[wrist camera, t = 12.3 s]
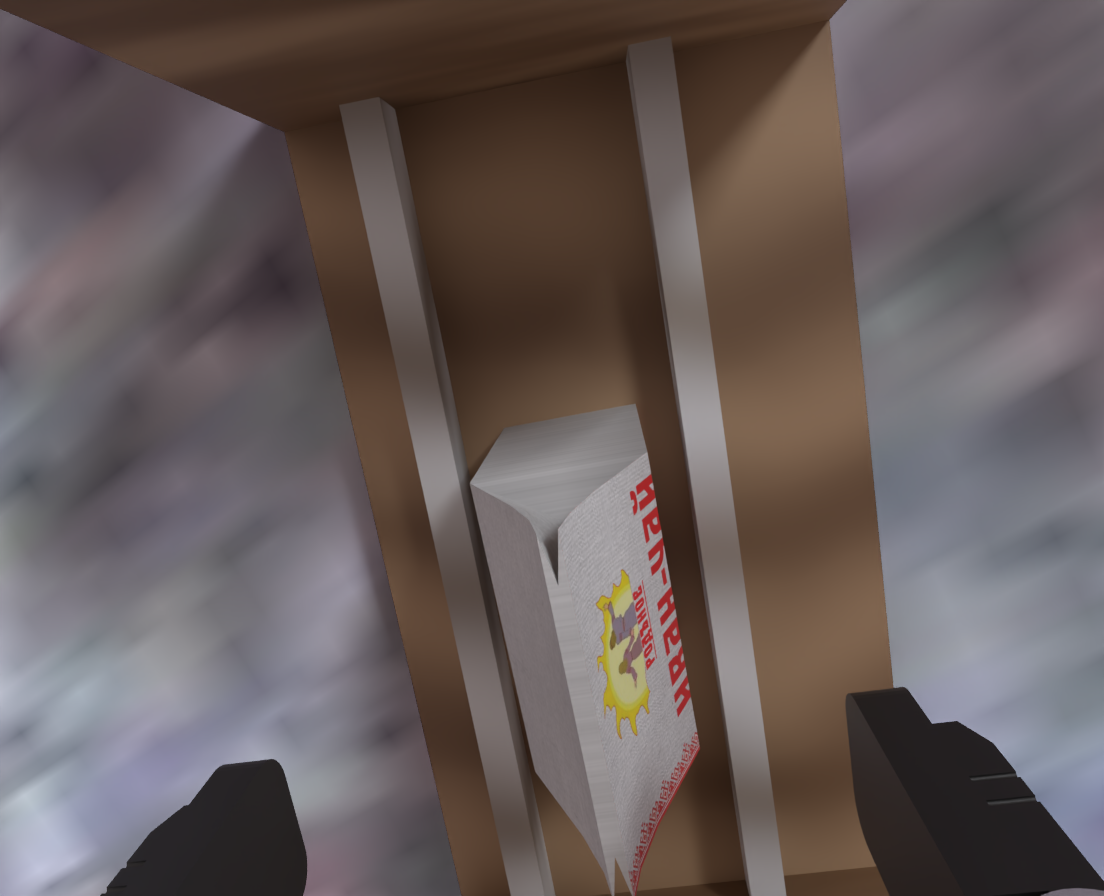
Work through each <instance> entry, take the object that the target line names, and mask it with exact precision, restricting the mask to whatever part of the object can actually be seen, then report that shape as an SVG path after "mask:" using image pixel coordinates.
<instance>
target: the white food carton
mask: <svg viewBox="0 0 1104 896" xmlns="http://www.w3.org/2000/svg"><path fill="white" fill-rule="evenodd" d="M470 487H471V491H472V496H473V500H474V504H475V509H476V513H477V518H478V522H479V526H480V531H481V535H482V540H483V544H484V548H485V553H486V557H487V562H488V566H489V570H490V575H491V579H492V584H493V588H494V593H495V597H496V601H497V606H498V610H499V615H500V619H501V623H502V628H503V632H504V637H505V641H506V645H507V650H508V654H509V659H510V663H511V667H512V672H513V676H514V681H515V685H516V690H517V694H518V698H519V703H520V707H521V712H522V716H523V720H524V725H525V729H526V734H527V738H528V742H529V747H530V751H531V756H532V760H533V765H534V769H535V772H536V773H537V775H538V776H539V777H540V779H541V780H542V782H543V783H544V784H545V786H546V787H547V788H548V790H549V791H550V792H551V794H552V795H553V796H554V798H555V799H556V800H557V802H558V803H559V805H560V806H561V807H562V809H563V810H564V811H565V813H566V814H567V815H568V817H569V818H570V819H571V821H572V822H573V823H574V825H575V826H576V828H577V829H578V830H579V832H580V833H581V834H582V836H583V837H584V839H585V841H586V842H587V844H588V846H589V848H590V849H591V851H592V853H593V854H594V856H595V858H596V860H597V861H598V863H599V865H600V867H601V868H602V870H603V872H604V874H605V877H606V880H607V883H608V886H609V889H610V892H611V895H612V896H614V883H615V858H616V861H617V863H618V865H619V867H620V870H621V872H622V874H623V876H624V879H625V881H626V883H627V885H628V888H629V890H630V892H631V894H632V896H636V892H637V887H638V883H639V878H640V873H641V868H642V866H643V863H644V861H645V858H646V856H647V853H648V851H649V848H650V846H651V843H652V841H653V838H654V836H655V833H656V831H657V828H658V826H659V824H660V822H661V820H662V818H663V817H664V815H665V813H666V811H667V809H668V807H669V805H670V804H671V802H672V800H673V798H674V796H675V794H676V792H677V790H678V789H679V787H680V785H681V783H682V781H683V779H684V777H685V776H686V774H687V772H688V770H689V768H690V766H691V764H692V763H693V761H694V759H695V757H696V755H697V753H698V751H699V750H700V745H699V740H698V734H697V728H696V723H695V717H694V712H693V706H692V700H691V695H690V689H689V683H688V678H687V672H686V667H685V661H684V655H683V650H682V644H681V639H680V633H679V627H678V622H677V616H676V610H675V605H674V599H673V594H672V588H671V582H670V577H669V571H668V565H667V560H666V554H665V549H664V543H663V537H662V532H661V526H660V520H659V515H658V509H657V504H656V498H655V492H654V487H653V481H652V476H651V470H650V464H649V459H648V453H647V449H646V445H645V440H644V436H643V432H642V428H641V424H640V420H639V416H638V412H637V408H636V404H630V405H625V406H620V407H614V408H609V409H603V410H598V411H593V412H587V413H582V414H576V415H571V416H565V417H560V418H555V419H549V420H544V421H538V422H533V423H528V424H522V425H517V426H511V427H506V428H504V429H503V431H502V432H501V434H500V436H499V437H498V439H497V440H496V442H495V444H494V445H493V447H492V448H491V450H490V452H489V453H488V455H487V456H486V458H485V460H484V461H483V463H482V464H481V466H480V468H479V469H478V471H477V472H476V474H475V476H474V477H473V479H472V480H471V482H470Z"/></svg>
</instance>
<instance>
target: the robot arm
mask: <svg viewBox="0 0 1104 896" xmlns="http://www.w3.org/2000/svg"><path fill="white" fill-rule="evenodd" d="M845 706H846V718H847V728H848V738H849V748H850V757H851V767H852V777H853V787H854V796H855V802H856V808H857V813H858V817H859V821H860V825H861V828H862V832H863V835H864V838H865V841H866V844H867V846H868V848H869V851H870V853H871V855H872V858H873V860H874V862H875V864H876V866H877V869H878V871H879V873H880V875H881V878H882V880H883V882H884V884H885V887H886V889H887V891H888V893H889V896H1104V881H1103V880H1102V879H1101V877H1100V876H1099V875H1098V874H1097V872H1096V871H1095V870H1094V869H1093V867H1092V866H1091V865H1090V864H1089V862H1088V861H1087V860H1086V859H1085V857H1084V856H1083V855H1082V854H1081V852H1080V851H1079V850H1078V849H1077V847H1076V846H1075V845H1074V844H1073V842H1072V841H1071V840H1070V839H1069V837H1068V836H1067V835H1066V834H1065V832H1064V831H1063V830H1062V829H1061V827H1060V826H1059V825H1058V824H1057V822H1056V821H1055V820H1054V819H1053V817H1052V816H1051V815H1050V814H1049V812H1048V811H1047V810H1046V809H1045V807H1044V806H1043V805H1042V804H1041V802H1037V801H1036V798H1035V795H1034V794H1033V792H1032V791H1031V790H1030V789H1029V787H1028V786H1027V785H1026V784H1025V782H1024V781H1023V780H1022V779H1021V777H1017V775H1016V771H1015V770H1014V769H1013V767H1012V766H1011V765H1010V764H1009V763H1008V761H1007V760H1006V759H1005V758H1004V756H1003V755H1002V754H1001V753H1000V751H999V750H998V749H997V748H996V746H995V745H994V744H993V743H992V742H990V741H989V740H987V739H985V738H984V737H982V736H980V735H979V734H977V733H976V732H974V731H972V730H971V729H969V728H967V727H966V726H964V725H963V724H961V723H959V722H958V721H954V722H945V723H936V724H932V723H931V722H930V720H929V719H928V718H927V716H926V715H925V713H924V712H923V711H922V709H921V708H920V706H919V705H918V703H917V702H916V701H915V699H914V698H913V696H912V695H911V693H910V692H909V691H908V690H907V689H906V688H905V687H899V688H891V689H882V690H874V691H865V692H856V693H848V694H847V695H846V702H845ZM306 879H307V856H306V850H305V846H304V842H303V839H302V835H301V831H300V828H299V824H298V820H297V817H296V813H295V810H294V806H293V802H292V799H291V795H290V792H289V788H288V784H287V781H286V777H285V774H284V771H283V769H282V767H281V765H280V764H279V763H278V762H277V761H276V760H274V759H269V760H260V761H252V762H243V763H235V764H226V765H222V766H220V767H219V768H217V770H216V771H215V772H214V773H213V774H212V776H211V777H210V778H209V780H208V781H207V782H206V783H205V785H204V786H203V787H202V789H201V790H200V791H199V793H198V794H197V795H196V796H195V798H194V799H193V800H192V802H191V803H190V804H189V805H186V806H183V807H182V808H181V809H180V810H178V811H177V812H176V813H175V814H173V815H172V816H171V817H170V818H168V819H167V820H166V821H165V822H163V823H162V824H161V825H159V826H158V827H157V828H156V829H154V830H153V831H152V832H151V833H150V834H149V835H148V836H147V838H146V839H145V840H144V841H143V843H142V844H141V845H140V846H139V848H138V849H137V850H136V851H135V853H134V854H133V855H132V856H131V858H130V859H129V860H128V861H127V867H126V868H122V869H121V870H120V871H119V873H118V874H117V875H116V877H115V878H114V879H113V880H112V882H111V883H110V884H109V885H108V887H107V892H106V893H105V894H101V895H100V896H303V893H304V890H305V885H306Z"/></svg>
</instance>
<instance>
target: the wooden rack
mask: <svg viewBox="0 0 1104 896" xmlns="http://www.w3.org/2000/svg"><path fill="white" fill-rule="evenodd" d="M846 1H847V0H0V9H2V10H4V11H7V12H9V13H11V14H14V15H16V16H18V17H21V18H23V19H25V20H27V21H30V22H32V23H34V24H37V25H39V26H41V27H44V28H46V29H48V30H51V31H53V32H55V33H57V34H60V35H62V36H64V37H67V38H69V39H71V40H74V41H76V42H78V43H80V44H83V45H85V46H87V47H90V48H92V49H94V50H97V51H99V52H101V53H104V54H106V55H108V56H110V57H113V58H115V59H117V60H120V61H122V62H124V63H127V64H129V65H131V66H133V67H136V68H138V69H140V70H143V71H145V72H147V73H150V74H152V75H154V76H157V77H159V78H161V79H163V80H166V81H168V82H170V83H173V84H175V85H177V86H180V87H182V88H184V89H186V90H189V91H191V92H193V93H196V94H198V95H200V96H203V97H205V98H207V99H209V100H212V101H214V102H216V103H219V104H221V105H223V106H226V107H228V108H230V109H233V110H235V111H237V112H239V113H242V114H244V115H246V116H249V117H251V118H253V119H256V120H258V121H260V122H262V123H265V124H267V125H269V126H272V127H274V128H276V129H279V130H281V131H283V132H284V133H285V137H286V141H287V146H288V150H289V154H290V158H291V163H292V167H293V171H294V176H295V180H296V184H297V189H298V193H299V197H300V201H301V206H302V210H303V214H304V219H305V223H306V227H307V232H308V236H309V240H310V245H311V249H312V253H313V257H314V262H315V266H316V270H317V275H318V279H319V283H320V288H321V292H322V296H323V301H324V305H325V309H326V313H327V318H328V322H329V326H330V331H331V335H332V339H333V344H334V348H335V352H336V356H337V361H338V365H339V369H340V374H341V378H342V382H343V387H344V391H345V395H346V400H347V404H348V408H349V412H350V417H351V421H352V425H353V430H354V434H355V438H356V443H357V447H358V451H359V456H360V460H361V464H362V468H363V473H364V477H365V481H366V486H367V490H368V494H369V499H370V503H371V507H372V511H373V516H374V520H375V524H376V529H377V533H378V537H379V542H380V546H381V550H382V555H383V559H384V563H385V567H386V572H387V576H388V580H389V585H390V589H391V593H392V598H393V602H394V606H395V611H396V615H397V619H398V623H399V628H400V632H401V636H402V641H403V645H404V649H405V654H406V658H407V662H408V666H409V671H410V675H411V679H412V684H413V688H414V692H415V697H416V701H417V705H418V710H419V714H420V718H421V722H422V727H423V731H424V735H425V740H426V744H427V748H428V753H429V757H430V761H431V765H432V770H433V774H434V778H435V783H436V787H437V791H438V796H439V800H440V804H441V809H442V813H443V817H444V821H445V826H446V830H447V834H448V839H449V843H450V847H451V852H452V856H453V860H454V865H455V869H456V873H457V877H458V882H459V886H460V890H461V895H462V896H612V895H611V892H610V889H609V886H608V883H607V880H606V877H605V874H604V872H603V870H602V868H601V867H600V865H599V863H598V861H597V860H596V858H595V856H594V854H593V853H592V851H591V849H590V848H589V846H588V844H587V842H586V841H585V839H584V837H583V836H582V834H581V833H580V832H579V830H578V829H577V828H576V826H575V825H574V823H573V822H572V821H571V819H570V818H569V817H568V815H567V814H566V813H565V811H564V810H563V809H562V807H561V806H560V805H559V803H558V802H557V800H556V799H555V798H554V796H553V795H552V794H551V792H550V791H549V790H548V788H547V787H546V786H545V784H544V783H543V782H542V780H541V779H540V777H539V776H538V775H537V773H536V772H535V769H534V765H533V760H532V756H531V751H530V747H529V742H528V738H527V734H526V729H525V725H524V720H523V716H522V712H521V707H520V703H519V698H518V694H517V690H516V685H515V681H514V676H513V672H512V667H511V663H510V659H509V654H508V650H507V645H506V641H505V637H504V632H503V628H502V623H501V619H500V615H499V610H498V606H497V601H496V597H495V593H494V588H493V584H492V579H491V575H490V570H489V566H488V562H487V557H486V553H485V548H484V544H483V540H482V535H481V531H480V526H479V522H478V518H477V513H476V509H475V504H474V500H473V496H472V491H471V487H470V482H471V480H472V479H473V477H474V476H475V474H476V472H477V471H478V469H479V468H480V466H481V464H482V463H483V461H484V460H485V458H486V456H487V455H488V453H489V452H490V450H491V448H492V447H493V445H494V444H495V442H496V440H497V439H498V437H499V436H500V434H501V432H502V431H503V429H504V428H506V427H511V426H517V425H522V424H528V423H533V422H538V421H544V420H549V419H555V418H560V417H565V416H571V415H576V414H582V413H587V412H593V411H598V410H603V409H609V408H614V407H620V406H625V405H630V404H636V408H637V412H638V416H639V420H640V424H641V428H642V432H643V436H644V440H645V445H646V449H647V453H648V459H649V464H650V470H651V476H652V481H653V487H654V492H655V498H656V504H657V509H658V515H659V520H660V526H661V532H662V537H663V543H664V549H665V554H666V560H667V565H668V571H669V577H670V582H671V588H672V594H673V599H674V605H675V610H676V616H677V622H678V627H679V633H680V639H681V644H682V650H683V655H684V661H685V667H686V672H687V678H688V683H689V689H690V695H691V700H692V706H693V712H694V717H695V723H696V728H697V734H698V740H699V745H700V750H699V751H698V753H697V755H696V757H695V759H694V761H693V763H692V764H691V766H690V768H689V770H688V772H687V774H686V776H685V777H684V779H683V781H682V783H681V785H680V787H679V789H678V790H677V792H676V794H675V796H674V798H673V800H672V802H671V804H670V805H669V807H668V809H667V811H666V813H665V815H664V817H663V818H662V820H661V822H660V824H659V826H658V828H657V831H656V833H655V836H654V838H653V841H652V843H651V846H650V848H649V851H648V853H647V856H646V858H645V861H644V863H643V866H642V868H641V873H640V878H639V883H638V887H637V892H636V896H889V893H888V891H887V889H886V887H885V884H884V882H883V880H882V878H881V875H880V873H879V871H878V869H877V866H876V864H875V862H874V860H873V858H872V855H871V853H870V851H869V848H868V846H867V844H866V841H865V838H864V835H863V832H862V828H861V825H860V821H859V817H858V813H857V808H856V802H855V796H854V787H853V777H852V767H851V757H850V748H849V738H848V728H847V718H846V706H845V702H846V695H847V694H848V693H856V692H865V691H874V690H882V689H891V688H893V678H892V668H891V657H890V647H889V636H888V626H887V615H886V605H885V595H884V584H883V574H882V563H881V553H880V543H879V532H878V522H877V511H876V501H875V491H874V480H873V470H872V459H871V449H870V439H869V428H868V418H867V407H866V397H865V387H864V376H863V366H862V355H861V345H860V334H859V324H858V314H857V303H856V293H855V282H854V272H853V262H852V251H851V241H850V230H849V220H848V210H847V199H846V189H845V178H844V168H843V158H842V147H841V137H840V126H839V116H838V105H837V95H836V85H835V74H834V64H833V53H832V43H831V33H830V22H829V19H830V18H831V17H832V16H833V15H834V14H835V13H836V12H837V11H838V10H839V8H840V7H841V6H842V5H843V4H844V3H845V2H846ZM614 896H632V894H631V892H630V890H629V888H628V885H627V883H626V881H625V879H624V876H623V874H622V872H621V870H620V867H619V865H618V863H617V861H616V858H615V883H614Z"/></svg>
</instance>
